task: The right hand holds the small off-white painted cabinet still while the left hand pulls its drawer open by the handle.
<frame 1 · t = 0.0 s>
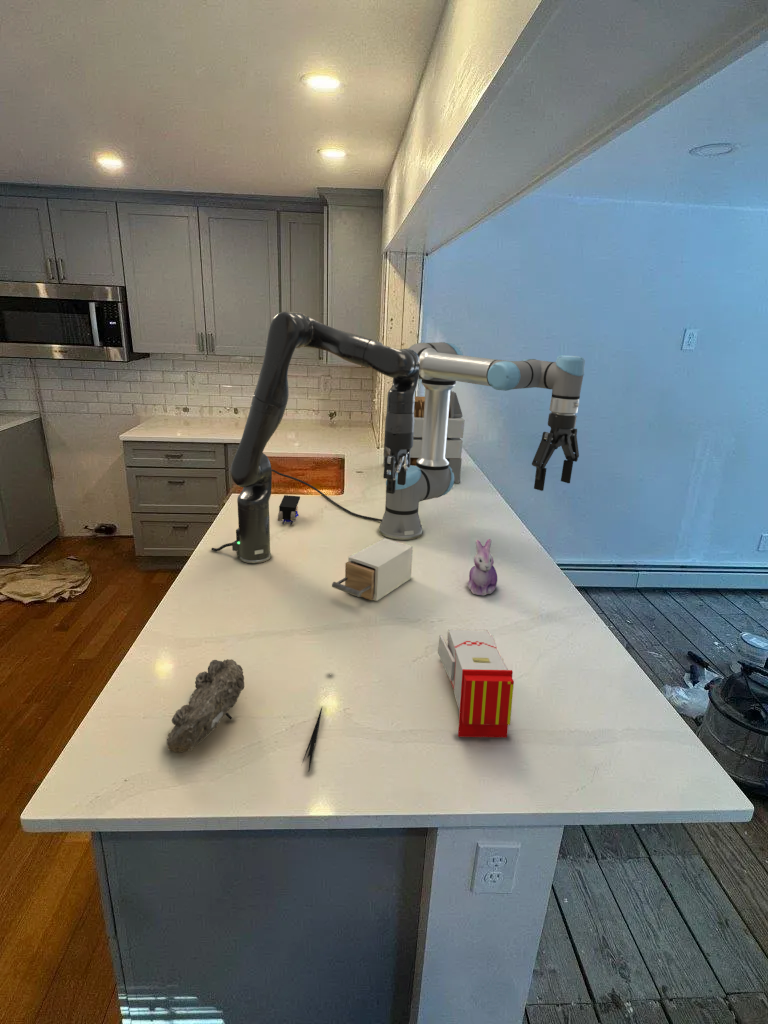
left hand: (396, 488, 152), 29 cm above the counter, tool pointing down, fingers open, 8 cm apart
right hand: (552, 485, 166), 28 cm above the counter, tool pointing down, fingers open, 13 cm apart
figurine character: (289, 520, 208), on the counter
cabinet: (379, 584, 163), on the counter
toy: (469, 691, 119), on the counter
fossil: (212, 717, 108), on the counter
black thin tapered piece: (319, 719, 109), on the counter
figurine: (482, 589, 163), on the counter
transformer: (419, 473, 275), on the counter
drawer: (369, 574, 157), point 5 cm above the counter, slide at 0.8 cm
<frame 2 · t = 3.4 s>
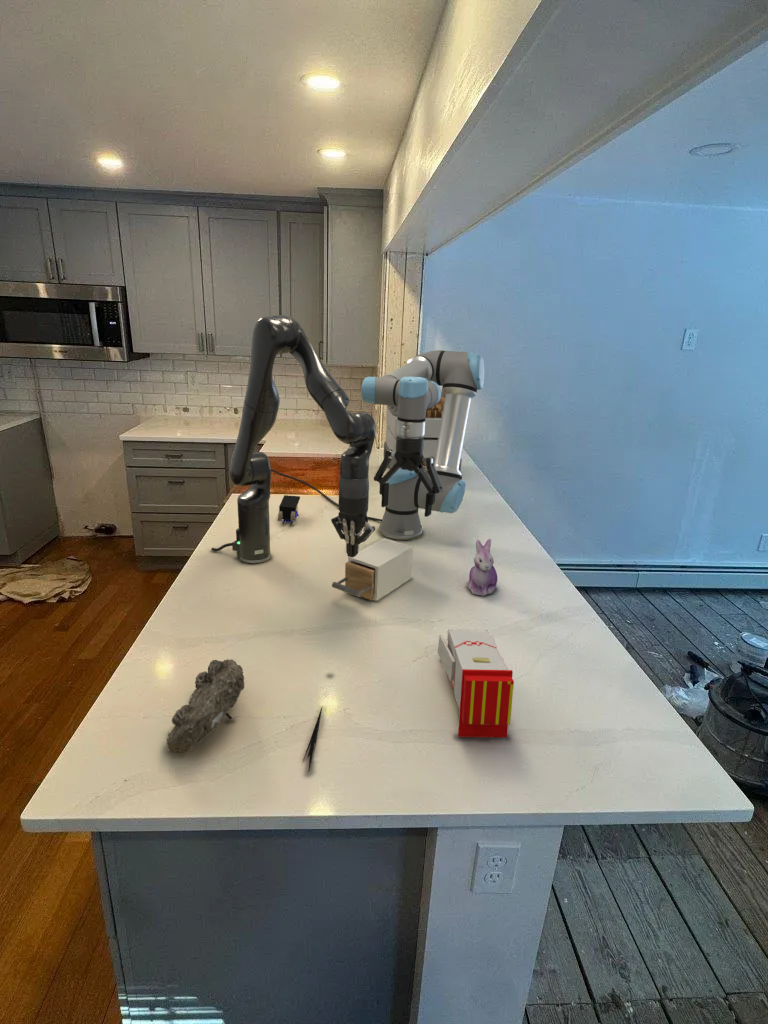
left hand: (352, 556, 148), 14 cm above the counter, tool pointing down, fingers closed
right hand: (405, 510, 159), 21 cm above the counter, tool pointing down, fingers open, 13 cm apart
nothing on the counter moved.
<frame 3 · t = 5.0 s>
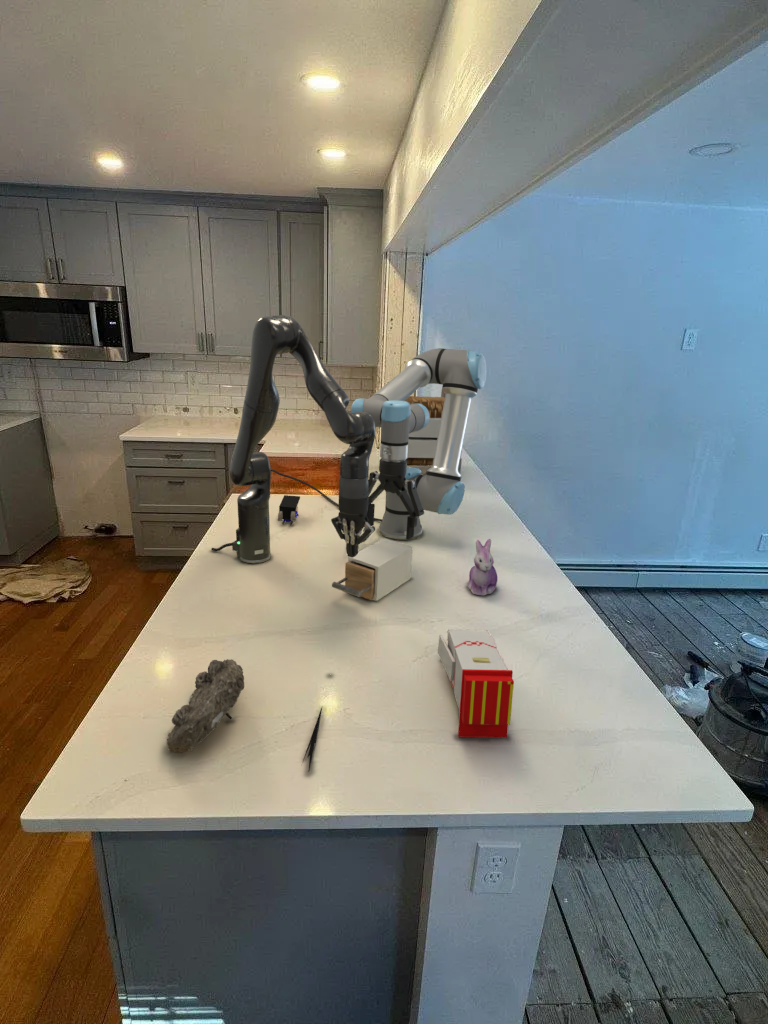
left hand: (352, 556, 148), 14 cm above the counter, tool pointing down, fingers closed
right hand: (389, 532, 161), 15 cm above the counter, tool pointing down, fingers open, 13 cm apart
nothing on the counter moved.
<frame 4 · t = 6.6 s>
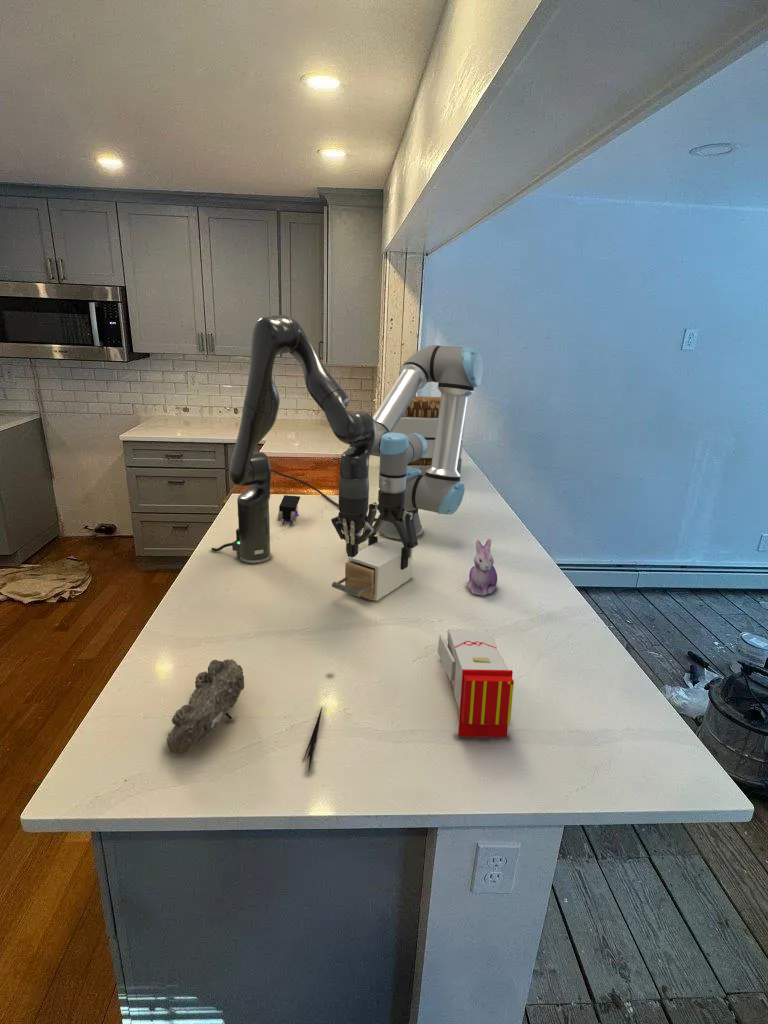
left hand: (352, 556, 148), 14 cm above the counter, tool pointing down, fingers closed
right hand: (388, 562, 164), 5 cm above the counter, tool pointing down, fingers closed on cabinet, 10 cm apart
cabinet: (379, 584, 163), on the counter, touching right hand
everything else where it was.
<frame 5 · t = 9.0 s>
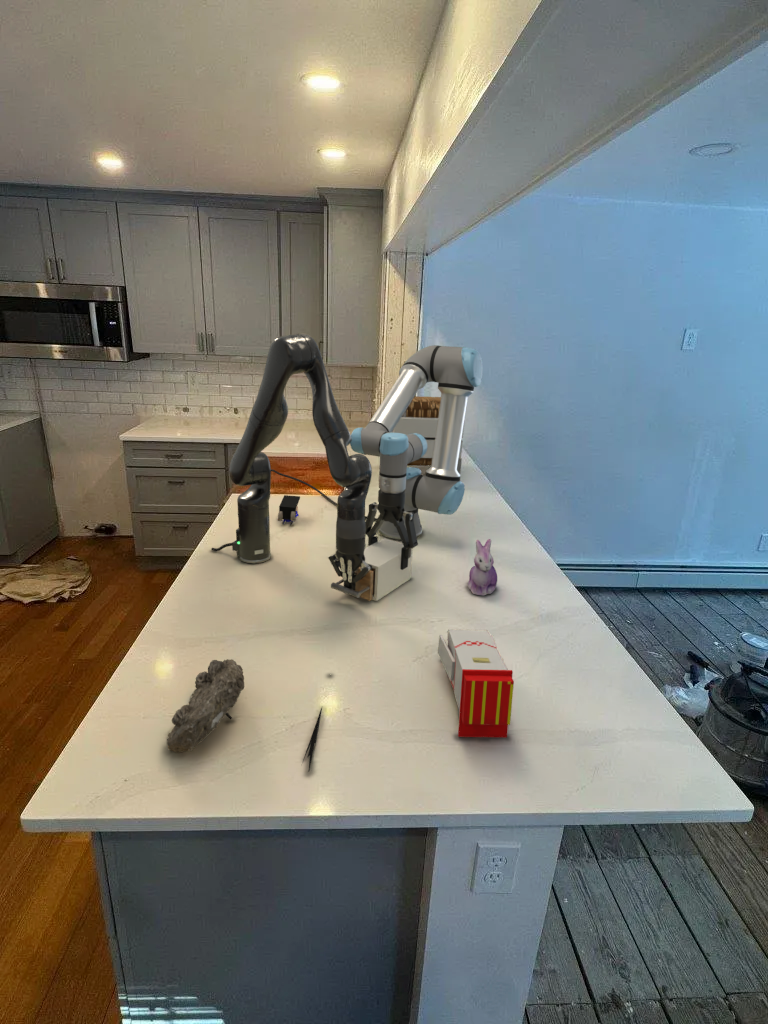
left hand: (349, 592, 150), 3 cm above the counter, tool pointing down, fingers closed
right hand: (388, 562, 164), 5 cm above the counter, tool pointing down, fingers closed on cabinet, 10 cm apart
cabinet: (379, 584, 163), on the counter, touching right hand
drawer: (368, 575, 156), point 5 cm above the counter, slide at 1.3 cm, touching left hand
everything else where it was.
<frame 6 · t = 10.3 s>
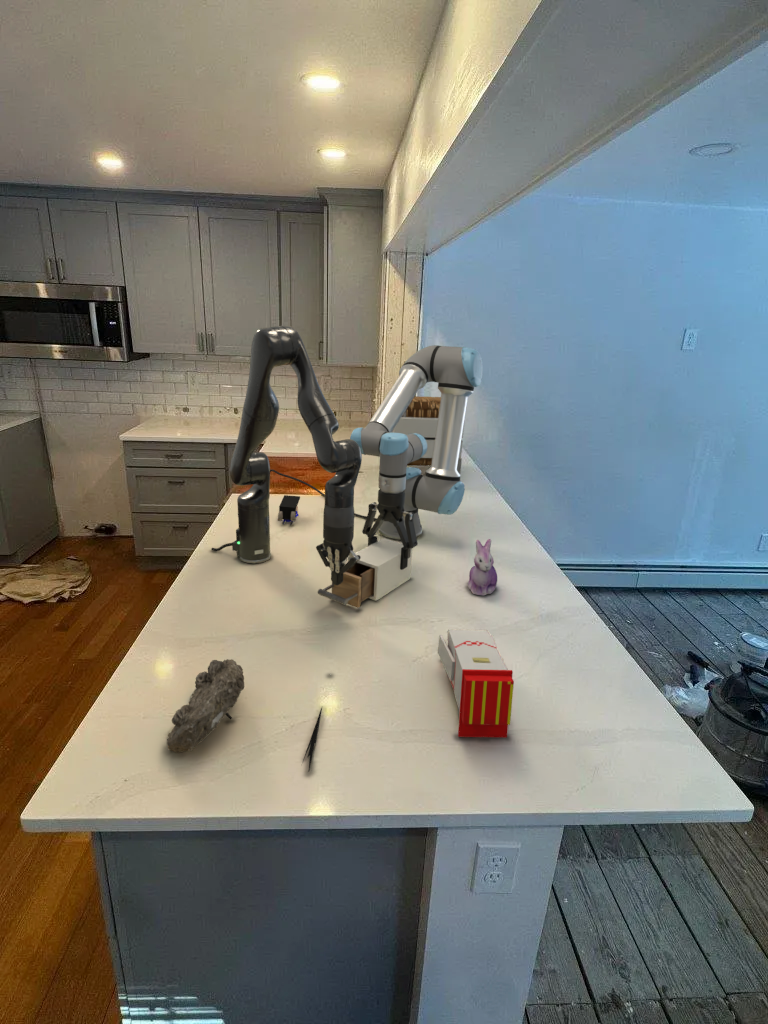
left hand: (337, 583, 145), 8 cm above the counter, tool pointing down, fingers closed
right hand: (388, 562, 164), 5 cm above the counter, tool pointing down, fingers closed on cabinet, 10 cm apart
cabinet: (379, 584, 163), on the counter, touching right hand
drawer: (357, 581, 152), point 5 cm above the counter, slide at 6.3 cm
everything else where it was.
when the right hand's fingers open (5 cm above the counter, at t = 11.3 s): cabinet stays where it is, on the counter.
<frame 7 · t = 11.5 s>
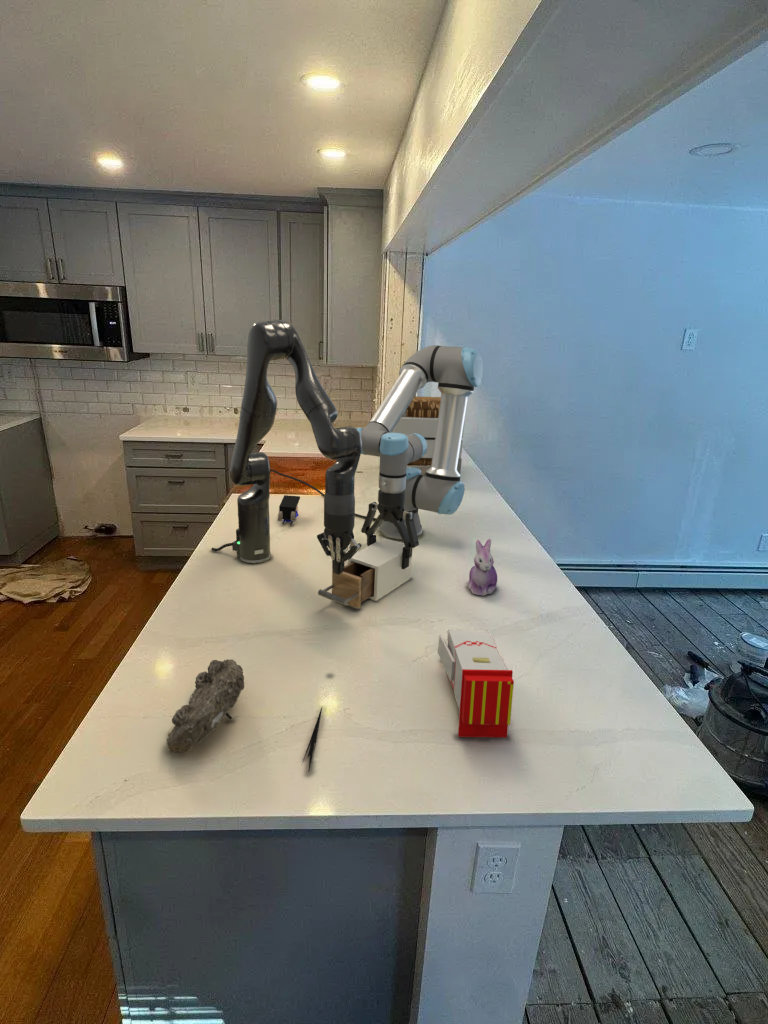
left hand: (338, 572, 144), 11 cm above the counter, tool pointing down, fingers closed
right hand: (388, 562, 164), 6 cm above the counter, tool pointing down, fingers open, 11 cm apart
cabinet: (379, 584, 163), on the counter
everything else where it was.
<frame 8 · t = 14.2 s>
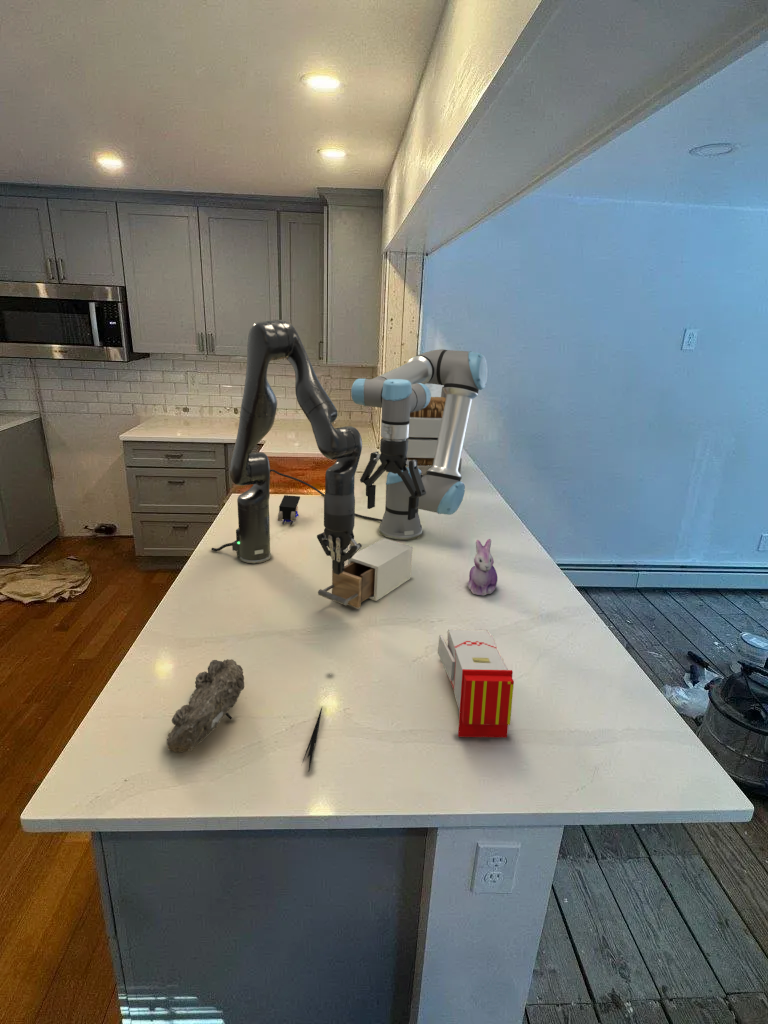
left hand: (338, 572, 144), 11 cm above the counter, tool pointing down, fingers closed
right hand: (390, 513, 159), 21 cm above the counter, tool pointing down, fingers open, 13 cm apart
nothing on the counter moved.
at the end: drawer slide at 6.3 cm; cabinet tilted 0°; cabinet never tilted more than 1° during the clip; cabinet moved 0.1 cm from its start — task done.
